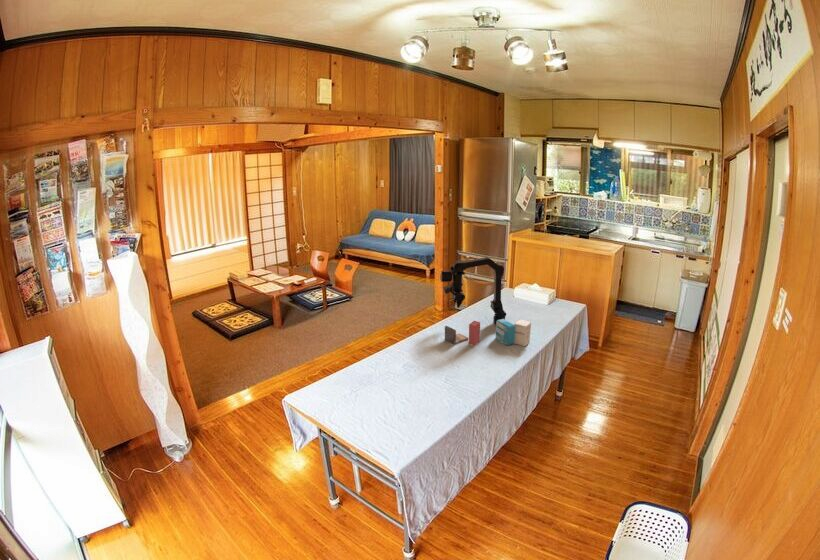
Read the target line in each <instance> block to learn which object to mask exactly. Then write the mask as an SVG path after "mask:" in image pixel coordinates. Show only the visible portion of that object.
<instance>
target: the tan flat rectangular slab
mask: <svg viewBox="0 0 820 560" xmlns="http://www.w3.org/2000/svg"><path fill="white" fill-rule="evenodd" d="M466 341H469V336H466V335H463V334H461V333H456V345H458V344H460V343H463V342H466Z"/></svg>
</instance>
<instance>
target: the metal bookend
mask: <svg viewBox="0 0 820 560" xmlns="http://www.w3.org/2000/svg"><path fill="white" fill-rule="evenodd" d="M456 334H457V330H456V329H454V328H452V327H450V326H448V325H444V341H445V342H447V343H448V344H450V345H453V346H455V345H457V344H456Z"/></svg>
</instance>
